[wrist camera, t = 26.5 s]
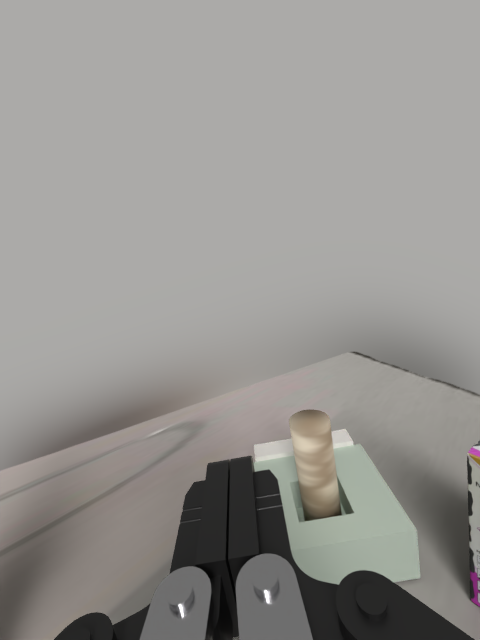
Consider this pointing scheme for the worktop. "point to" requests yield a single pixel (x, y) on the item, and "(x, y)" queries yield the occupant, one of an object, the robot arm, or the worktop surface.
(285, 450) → the backstop board
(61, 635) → the robot arm
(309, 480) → the birch dowel
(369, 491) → the socket block
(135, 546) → the worktop surface
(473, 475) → the candy bar box
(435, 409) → the worktop surface
